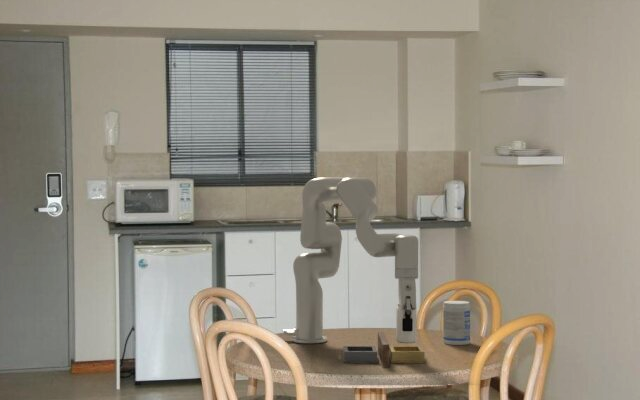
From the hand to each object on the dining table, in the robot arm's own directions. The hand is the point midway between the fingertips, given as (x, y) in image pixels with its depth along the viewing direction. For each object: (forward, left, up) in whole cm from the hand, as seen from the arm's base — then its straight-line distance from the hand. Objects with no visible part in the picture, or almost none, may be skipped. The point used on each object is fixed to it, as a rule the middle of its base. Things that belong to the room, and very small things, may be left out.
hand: (406, 328), depth 313 cm
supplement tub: (+21, +30, -10) cm, 38 cm away
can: (0, 0, -4) cm, 4 cm away
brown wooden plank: (-7, 0, -10) cm, 13 cm away
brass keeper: (0, 0, -10) cm, 10 cm away
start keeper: (-15, 0, -10) cm, 18 cm away
